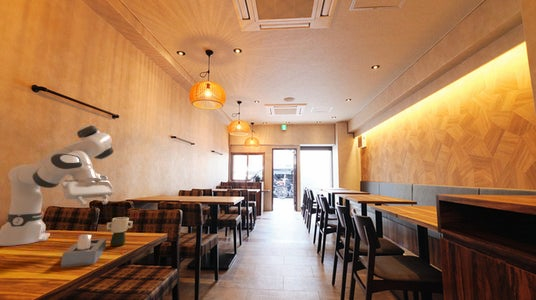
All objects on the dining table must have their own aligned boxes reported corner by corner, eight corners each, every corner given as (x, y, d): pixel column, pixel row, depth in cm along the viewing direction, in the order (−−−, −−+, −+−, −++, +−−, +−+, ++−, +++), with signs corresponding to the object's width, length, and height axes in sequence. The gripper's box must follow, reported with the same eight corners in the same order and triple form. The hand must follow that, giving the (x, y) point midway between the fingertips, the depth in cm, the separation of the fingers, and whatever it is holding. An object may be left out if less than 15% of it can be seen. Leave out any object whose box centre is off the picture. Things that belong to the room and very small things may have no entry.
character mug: (130, 242, 117) (133, 216, 119) (130, 245, 111) (133, 218, 113) (104, 244, 111) (108, 217, 113) (103, 248, 105) (106, 220, 107)
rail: (78, 251, 100) (79, 240, 100) (105, 249, 104) (106, 238, 105) (60, 268, 82) (62, 253, 82) (94, 264, 86) (95, 250, 87)
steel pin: (77, 260, 89) (80, 234, 91) (89, 259, 91) (92, 234, 92) (73, 264, 86) (77, 237, 87) (86, 262, 87) (90, 236, 89)
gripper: (65, 176, 98) (74, 202, 94) (110, 176, 117) (120, 198, 113) (56, 184, 99) (65, 211, 95) (103, 183, 118) (112, 205, 114)
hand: (95, 204), depth 104 cm, fingers open, 8 cm apart
